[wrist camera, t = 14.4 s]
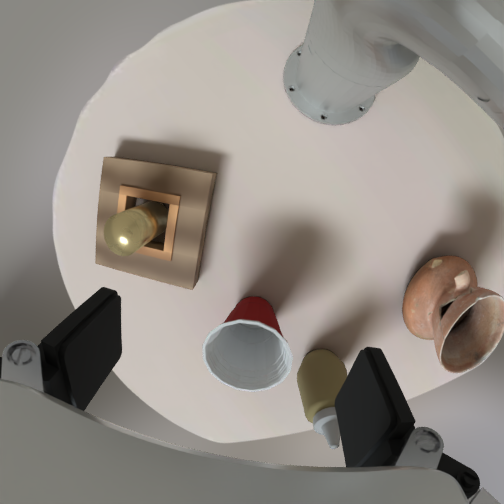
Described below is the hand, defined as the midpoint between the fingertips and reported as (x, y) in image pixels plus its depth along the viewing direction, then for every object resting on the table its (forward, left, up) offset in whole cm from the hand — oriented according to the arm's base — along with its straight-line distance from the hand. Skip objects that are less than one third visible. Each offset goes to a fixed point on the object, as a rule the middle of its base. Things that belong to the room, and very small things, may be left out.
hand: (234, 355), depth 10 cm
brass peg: (+4, -15, -30) cm, 34 cm away
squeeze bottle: (+22, +15, -31) cm, 40 cm away
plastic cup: (+15, +2, -31) cm, 34 cm away
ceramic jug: (+6, +31, -31) cm, 44 cm away
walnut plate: (+4, -15, -30) cm, 34 cm away
